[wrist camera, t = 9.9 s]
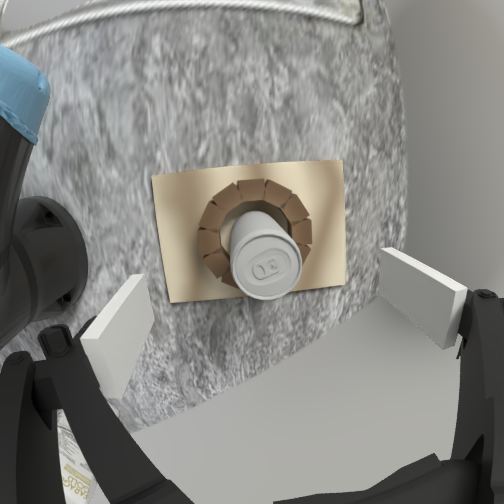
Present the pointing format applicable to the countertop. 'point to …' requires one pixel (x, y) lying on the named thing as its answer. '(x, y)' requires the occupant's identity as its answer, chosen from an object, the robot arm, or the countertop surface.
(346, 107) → the countertop surface
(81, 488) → the juice carton
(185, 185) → the collar board
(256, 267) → the beverage can
